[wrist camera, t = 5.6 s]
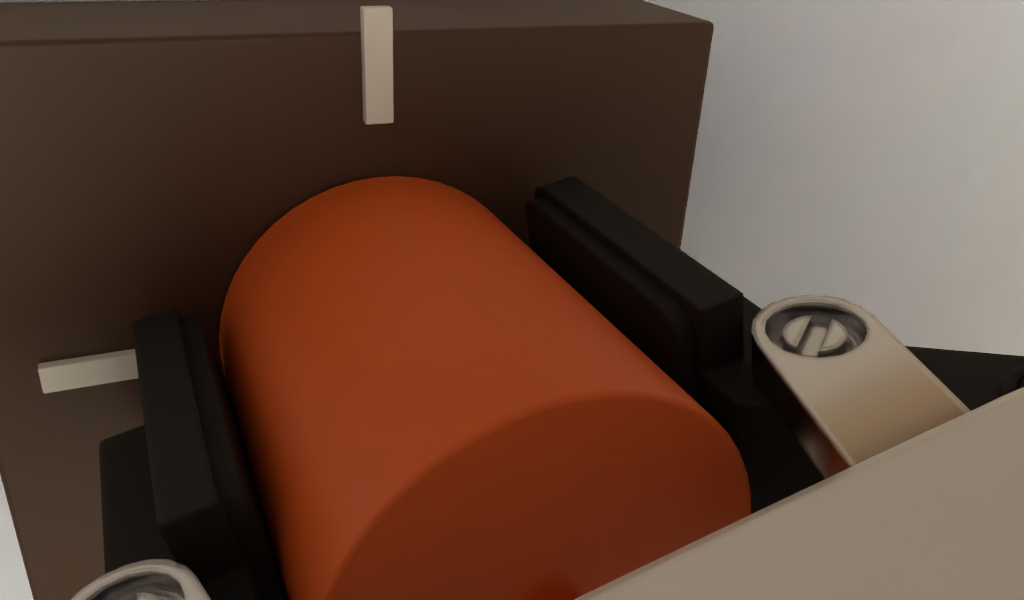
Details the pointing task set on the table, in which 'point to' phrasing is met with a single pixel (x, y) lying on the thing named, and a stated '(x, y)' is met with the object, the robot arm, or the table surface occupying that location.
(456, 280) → the knob
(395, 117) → the brown dial base
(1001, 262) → the table surface
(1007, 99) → the table surface
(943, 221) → the table surface
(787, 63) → the table surface
